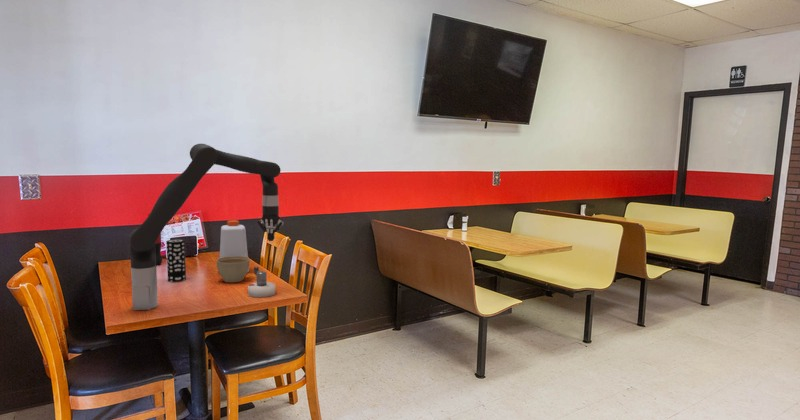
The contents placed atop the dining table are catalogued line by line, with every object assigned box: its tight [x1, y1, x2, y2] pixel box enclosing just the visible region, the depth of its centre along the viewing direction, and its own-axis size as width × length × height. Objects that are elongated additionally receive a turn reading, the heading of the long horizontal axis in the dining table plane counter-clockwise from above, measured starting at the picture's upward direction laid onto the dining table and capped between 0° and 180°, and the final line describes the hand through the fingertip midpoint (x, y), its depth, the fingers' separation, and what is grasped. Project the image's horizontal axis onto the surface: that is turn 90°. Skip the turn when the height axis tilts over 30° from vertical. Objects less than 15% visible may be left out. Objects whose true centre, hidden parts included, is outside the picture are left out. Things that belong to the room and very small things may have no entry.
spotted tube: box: [165, 238, 187, 283], centre depth 238 cm, size 8×8×20 cm
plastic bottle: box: [219, 219, 250, 273], centre depth 257 cm, size 15×15×28 cm
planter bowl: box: [215, 256, 251, 283], centre depth 240 cm, size 16×16×11 cm
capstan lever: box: [253, 266, 268, 286], centre depth 223 cm, size 14×4×6 cm, turn 29°
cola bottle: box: [147, 212, 163, 267], centre depth 268 cm, size 8×8×30 cm
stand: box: [247, 281, 276, 299], centre depth 219 cm, size 12×12×5 cm
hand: (270, 240), depth 227 cm, fingers closed
